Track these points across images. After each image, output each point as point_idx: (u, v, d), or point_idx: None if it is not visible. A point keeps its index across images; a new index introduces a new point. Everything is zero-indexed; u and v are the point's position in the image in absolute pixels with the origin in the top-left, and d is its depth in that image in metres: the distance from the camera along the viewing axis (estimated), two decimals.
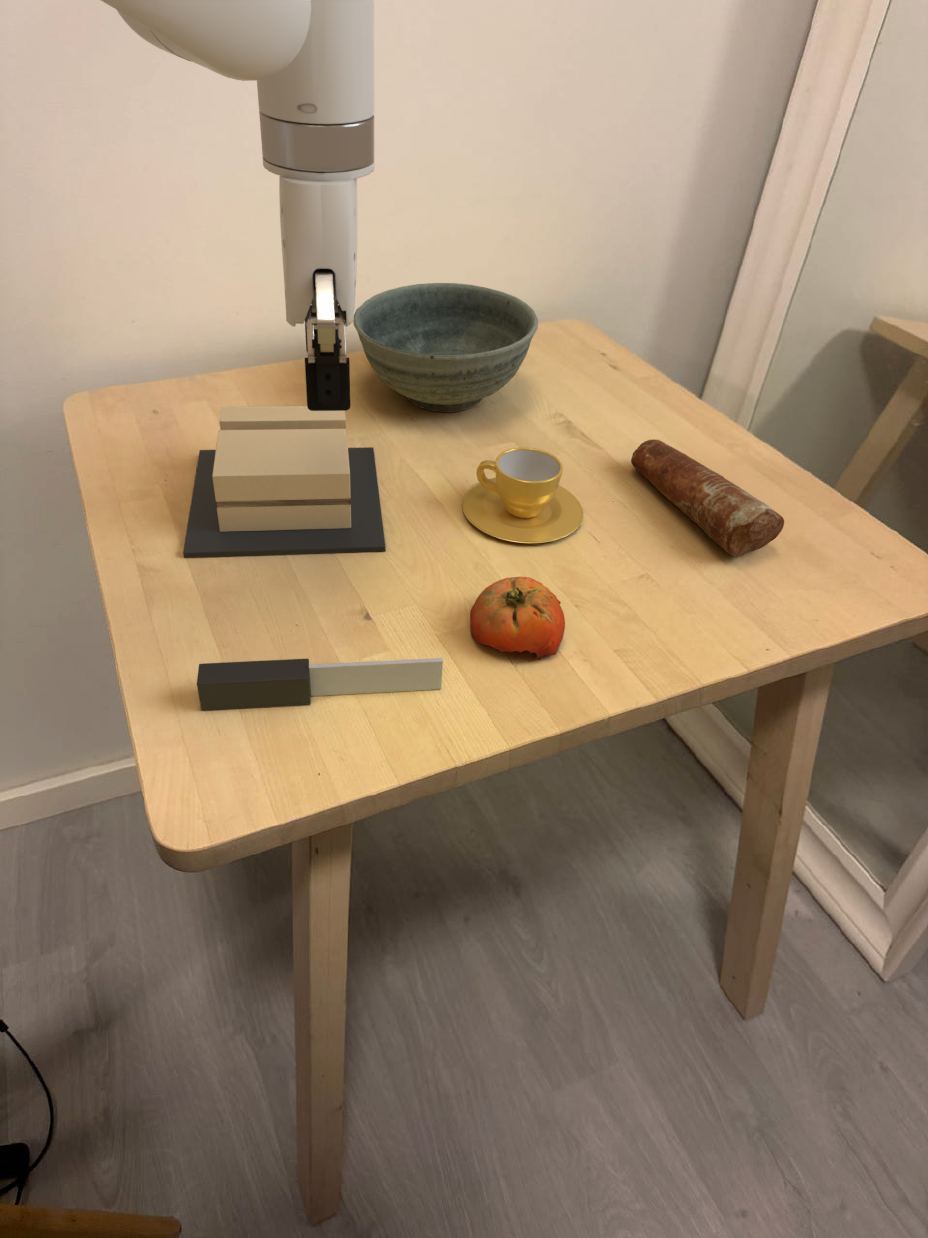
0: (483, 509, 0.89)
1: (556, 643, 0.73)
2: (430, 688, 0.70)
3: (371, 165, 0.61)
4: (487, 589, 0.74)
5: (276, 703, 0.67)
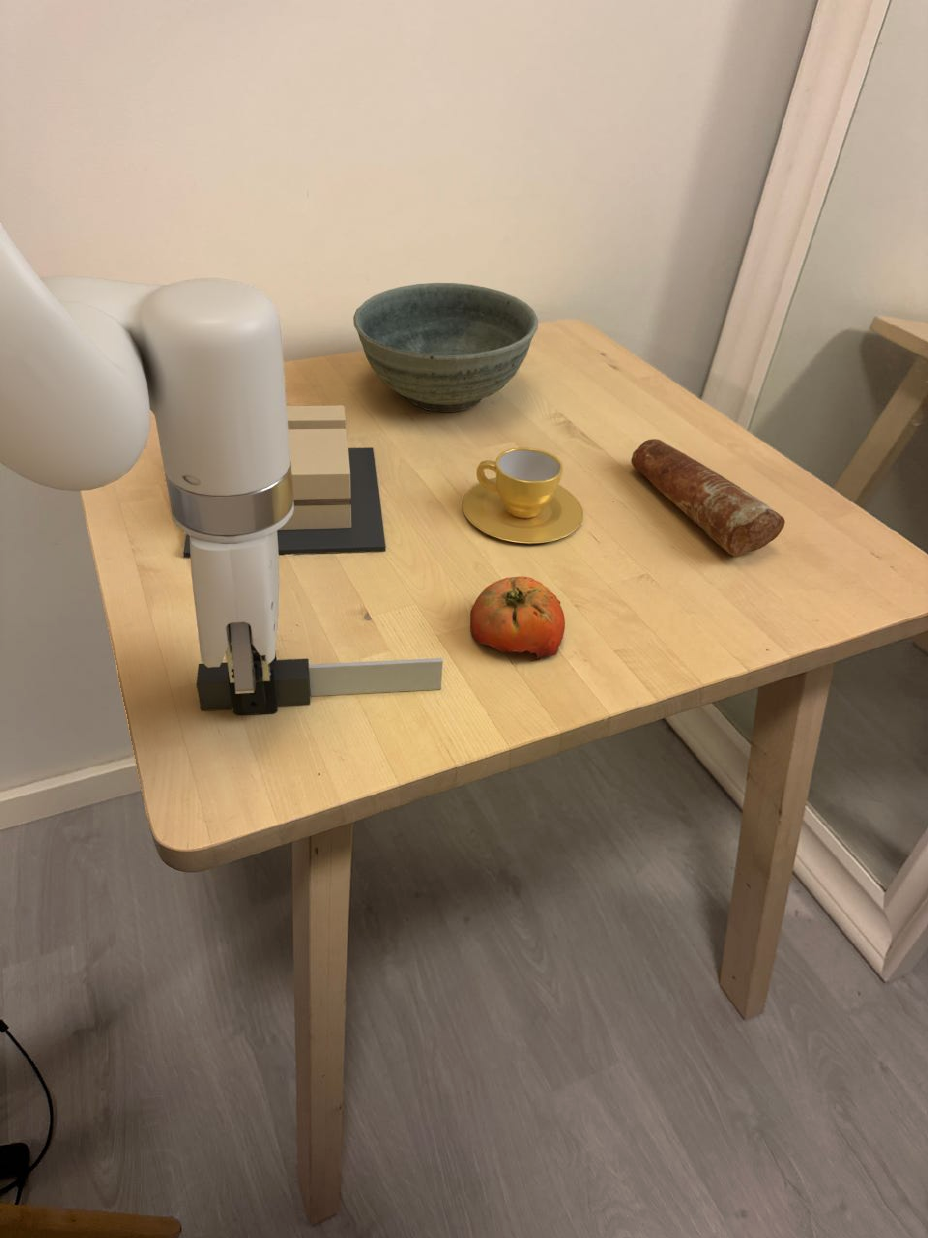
0: (483, 509, 0.89)
1: (556, 643, 0.73)
2: (430, 688, 0.70)
3: (288, 513, 0.56)
4: (487, 589, 0.74)
5: None
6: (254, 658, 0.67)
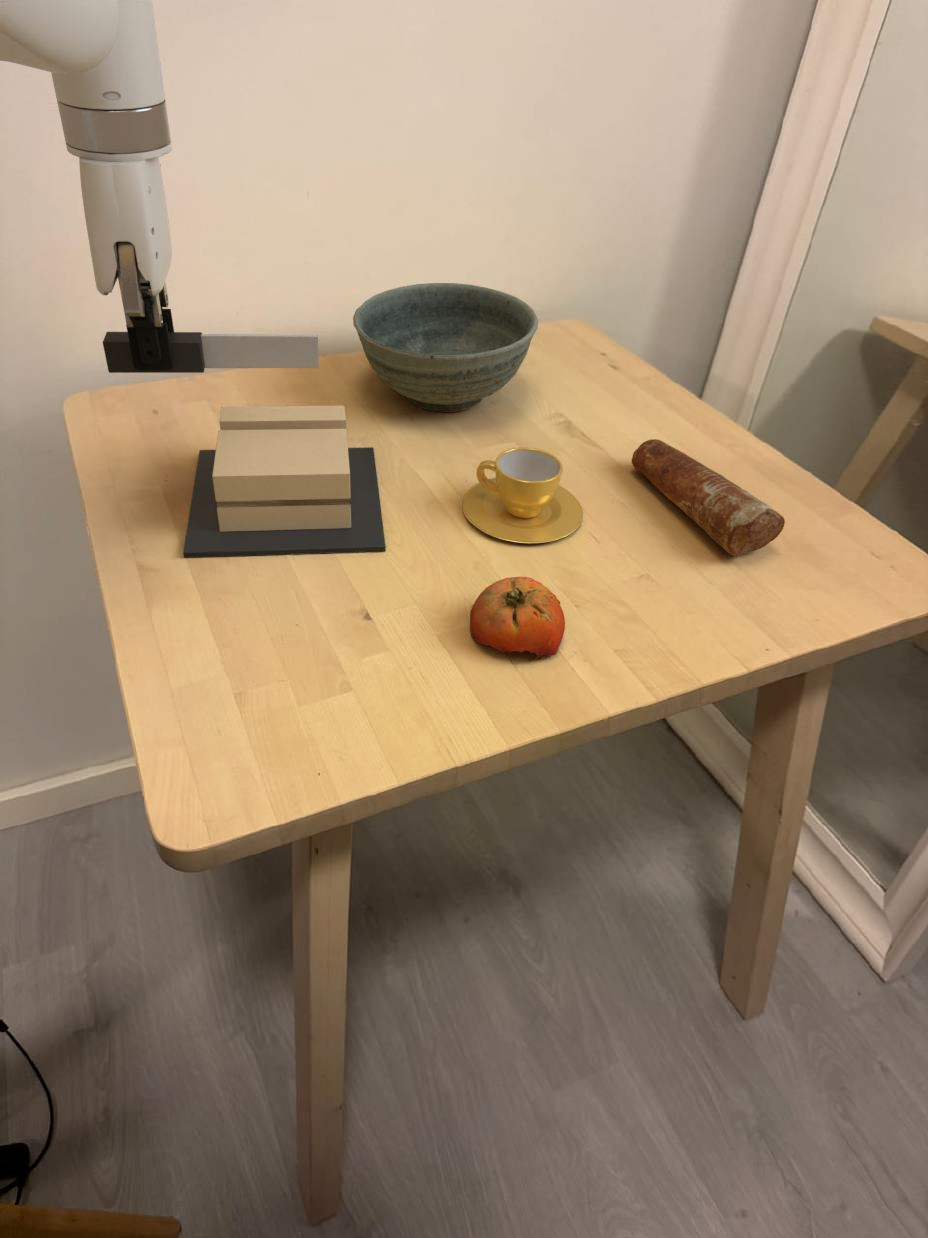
0: (483, 509, 0.89)
1: (556, 643, 0.73)
2: (309, 366, 0.81)
3: (165, 147, 0.67)
4: (487, 589, 0.74)
5: (173, 368, 0.79)
6: None
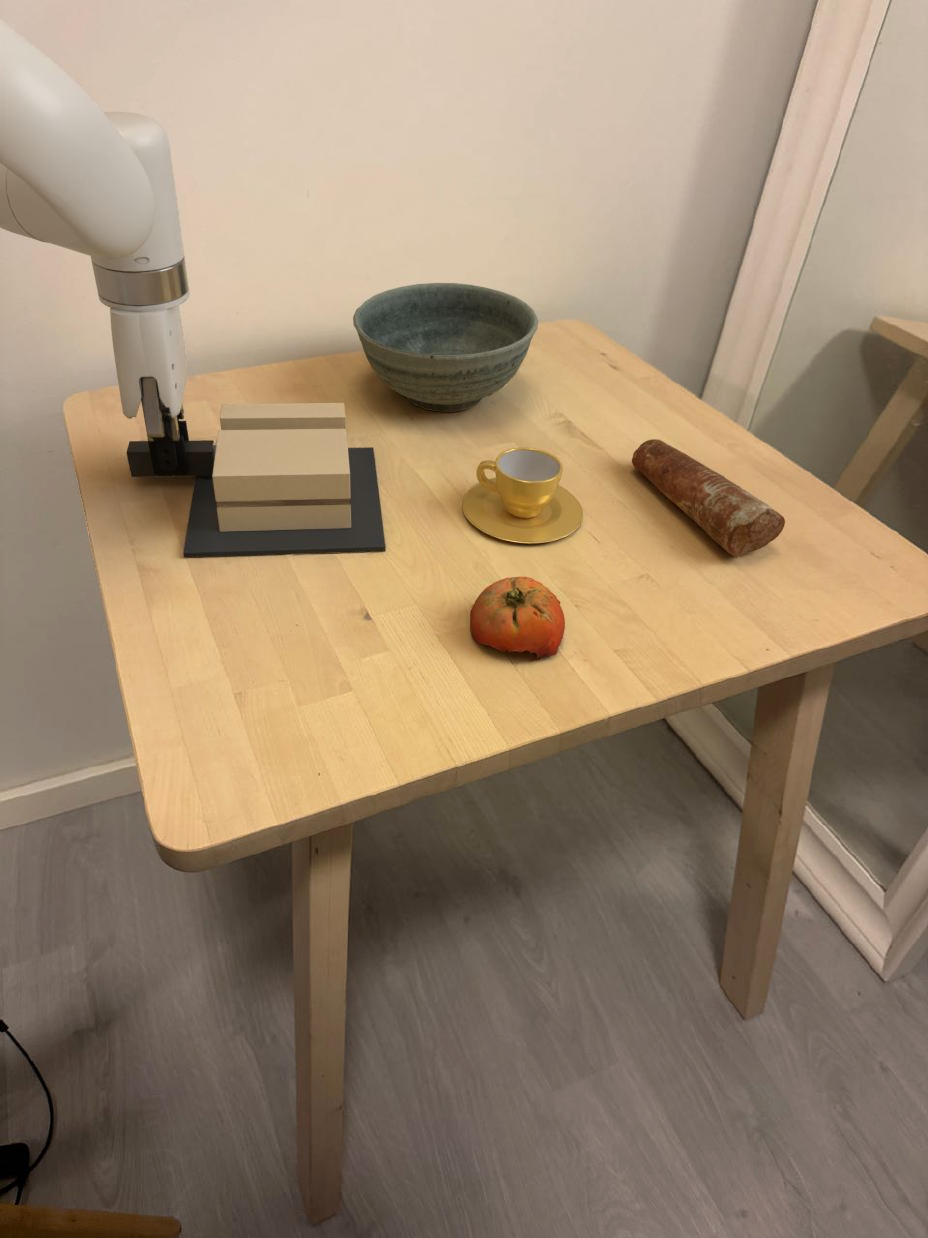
0: (483, 509, 0.89)
1: (556, 643, 0.73)
2: None
3: (183, 296, 0.77)
4: (487, 589, 0.74)
5: (188, 473, 0.89)
6: None
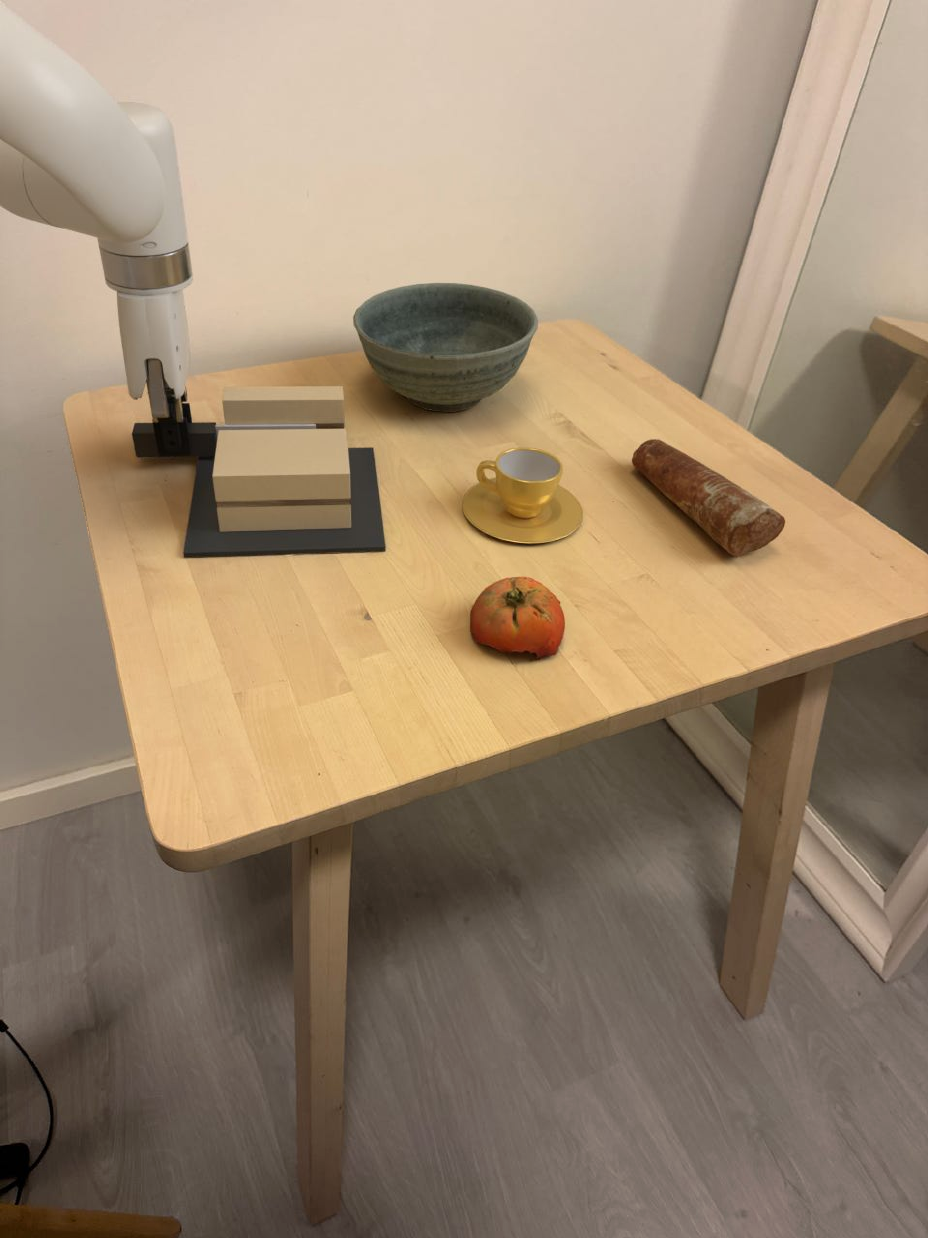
0: (483, 509, 0.89)
1: (556, 643, 0.73)
2: None
3: (187, 280, 0.80)
4: (487, 589, 0.74)
5: (191, 454, 0.92)
6: None
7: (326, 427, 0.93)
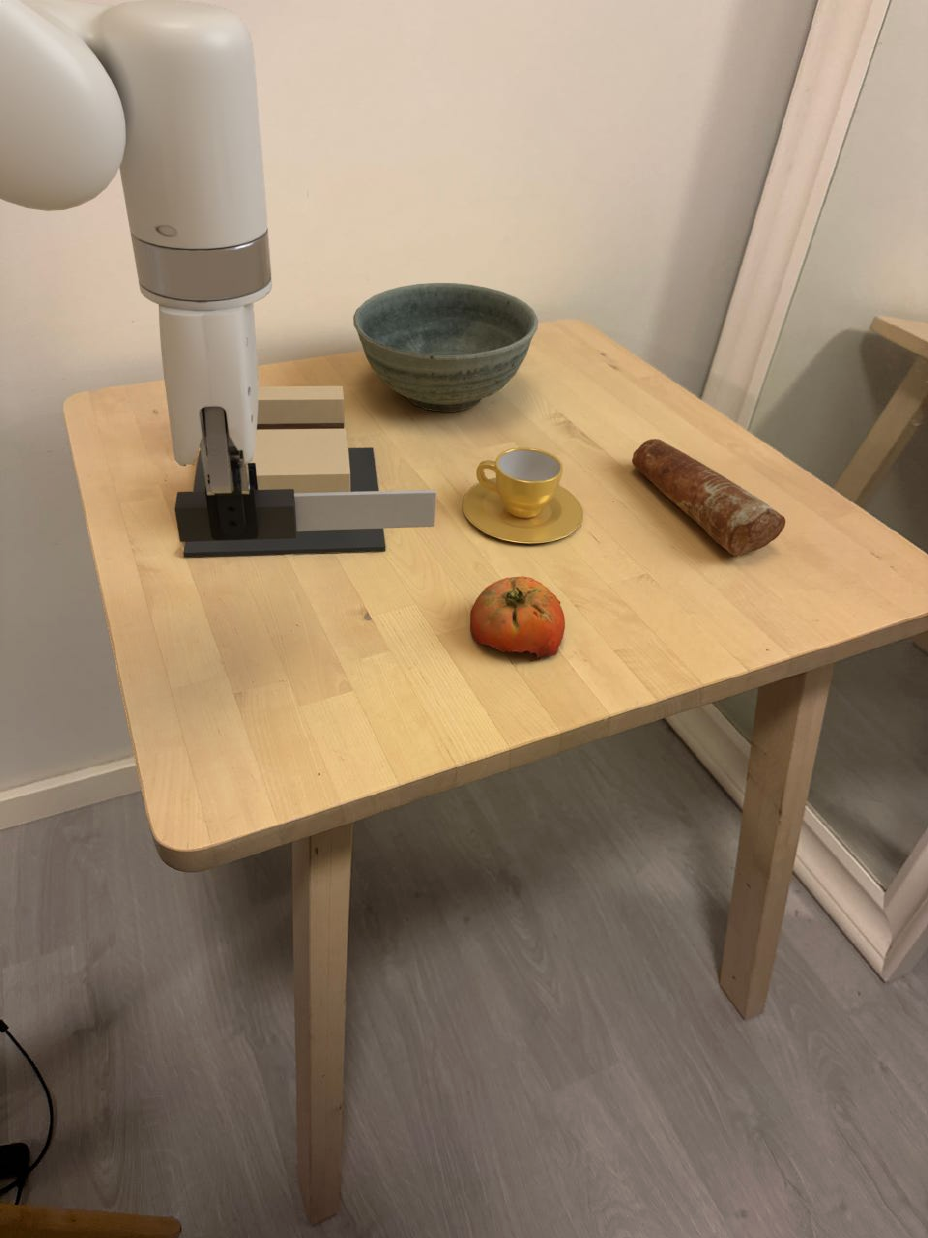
0: (483, 509, 0.89)
1: (556, 643, 0.73)
2: (423, 525, 0.66)
3: (266, 287, 0.52)
4: (487, 589, 0.74)
5: (259, 535, 0.64)
6: None
7: (326, 427, 0.93)
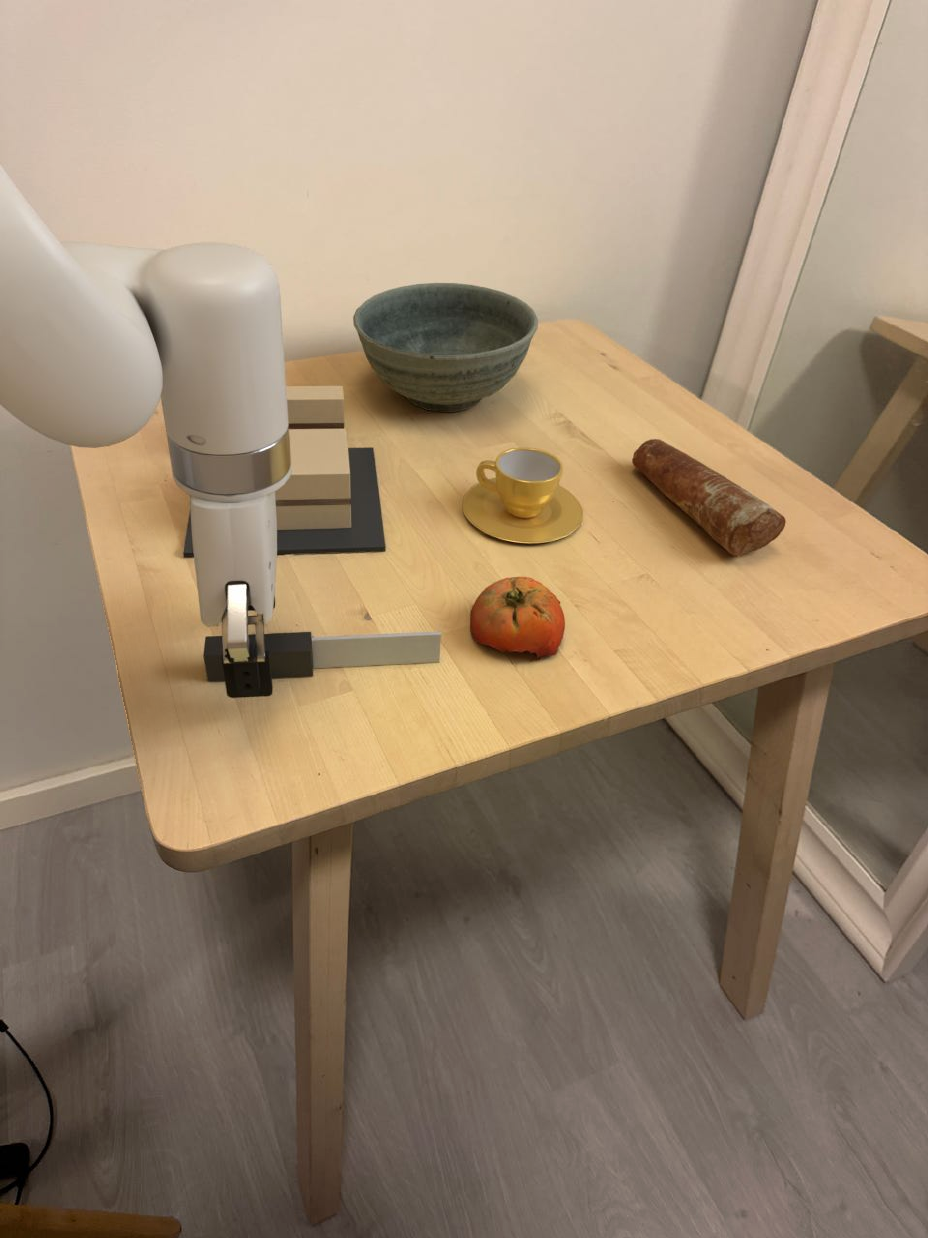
0: (483, 509, 0.89)
1: (556, 643, 0.73)
2: (429, 661, 0.72)
3: (286, 475, 0.58)
4: (487, 589, 0.74)
5: (279, 675, 0.70)
6: None
7: (326, 427, 0.93)
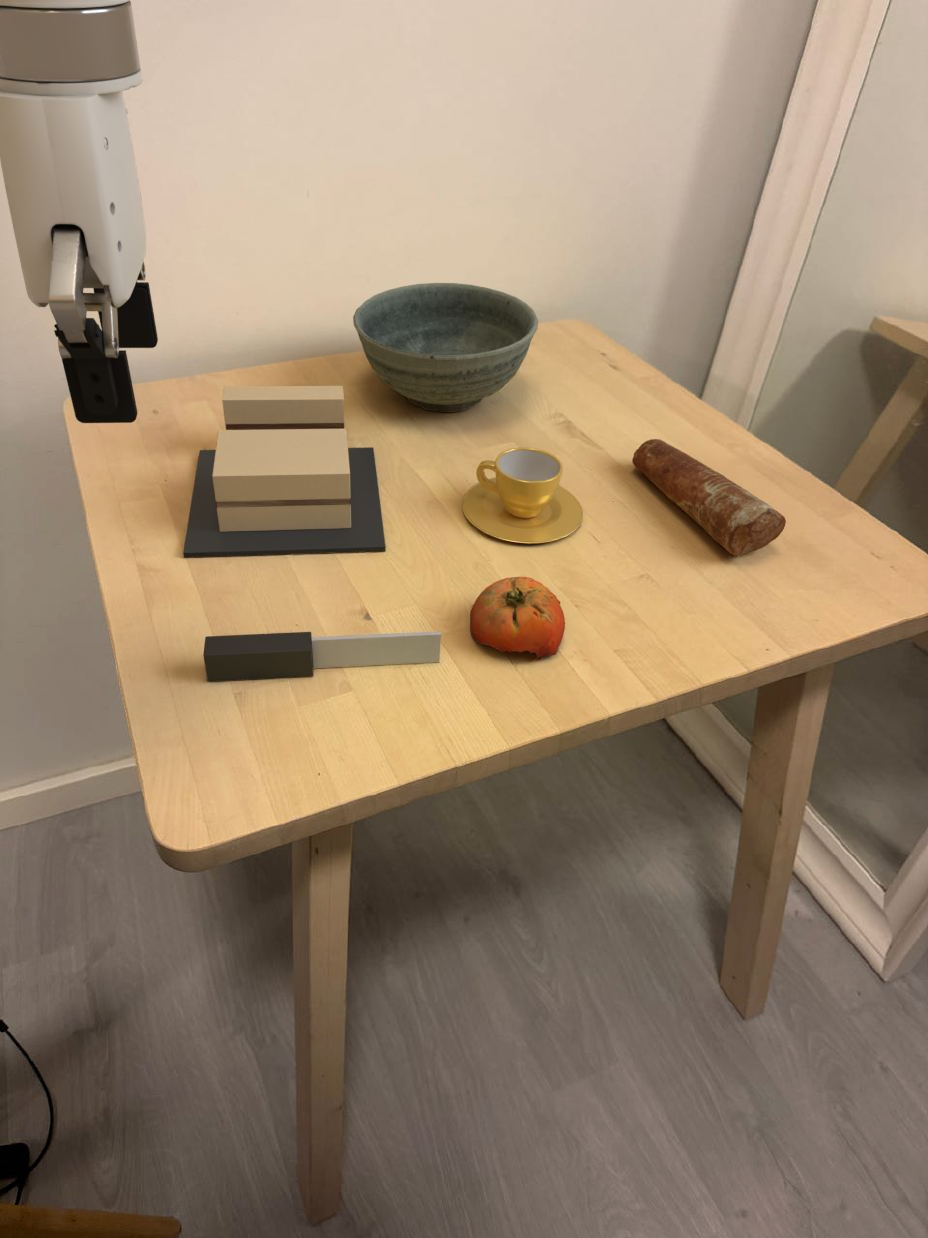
0: (483, 509, 0.89)
1: (556, 643, 0.73)
2: (429, 661, 0.72)
3: (130, 77, 0.43)
4: (487, 589, 0.74)
5: (279, 675, 0.70)
6: None
7: (326, 427, 0.93)
